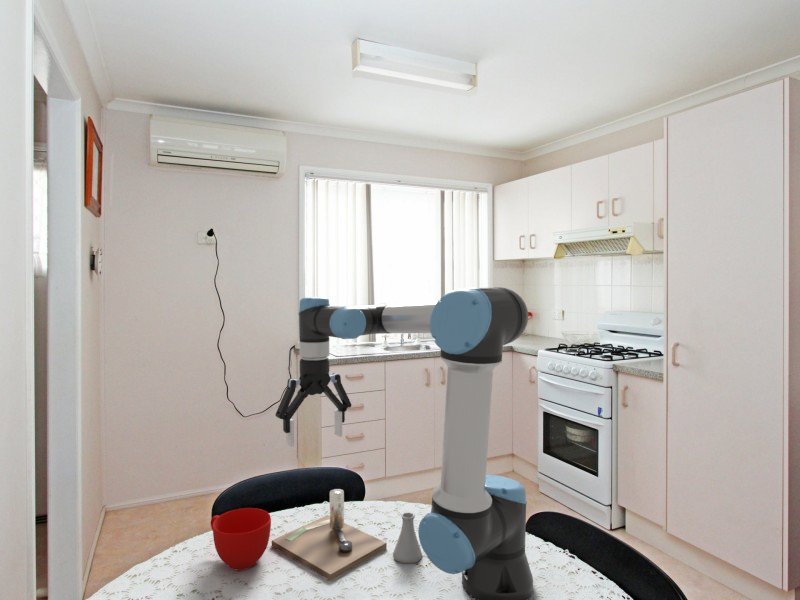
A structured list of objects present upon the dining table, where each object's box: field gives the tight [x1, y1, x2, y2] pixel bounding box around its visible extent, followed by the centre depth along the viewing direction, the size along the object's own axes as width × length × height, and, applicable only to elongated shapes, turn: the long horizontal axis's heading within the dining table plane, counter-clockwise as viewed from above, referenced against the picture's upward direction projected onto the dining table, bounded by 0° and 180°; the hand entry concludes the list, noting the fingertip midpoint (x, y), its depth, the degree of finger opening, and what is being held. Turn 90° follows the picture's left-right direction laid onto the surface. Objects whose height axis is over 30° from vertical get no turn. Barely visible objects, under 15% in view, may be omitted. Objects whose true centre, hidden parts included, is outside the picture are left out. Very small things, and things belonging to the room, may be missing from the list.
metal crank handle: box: [329, 488, 352, 552], centre depth 130 cm, size 16×4×10 cm, turn 19°
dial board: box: [271, 515, 387, 582], centre depth 128 cm, size 22×18×2 cm
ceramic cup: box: [210, 507, 272, 571], centre depth 122 cm, size 13×17×10 cm
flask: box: [392, 511, 424, 564], centre depth 124 cm, size 7×7×10 cm
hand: (315, 440), depth 133 cm, fingers open, 13 cm apart
